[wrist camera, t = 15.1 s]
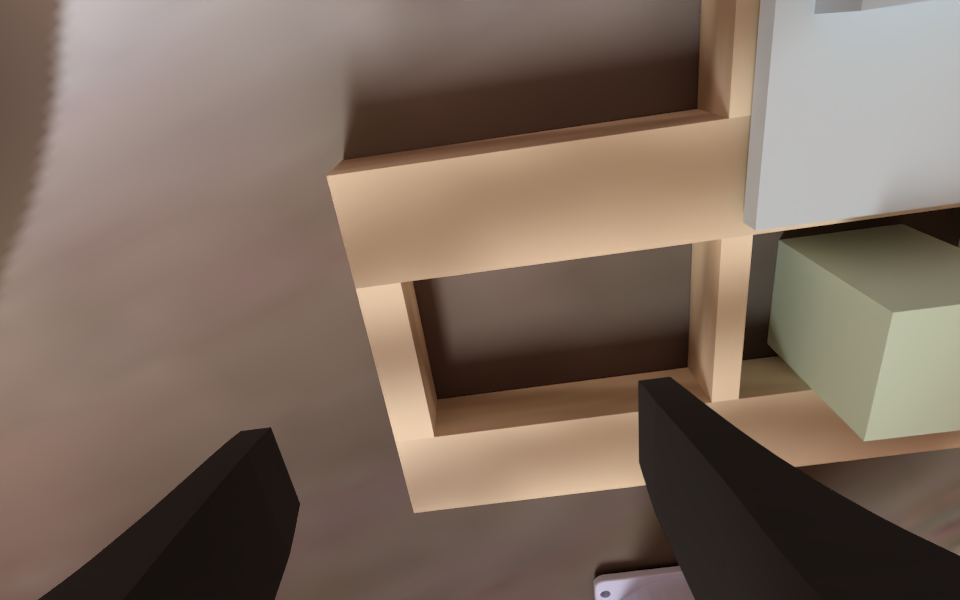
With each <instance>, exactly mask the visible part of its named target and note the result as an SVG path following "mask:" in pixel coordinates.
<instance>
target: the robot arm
mask: <svg viewBox="0 0 960 600" xmlns="http://www.w3.org/2000/svg"><path fill="white" fill-rule="evenodd" d="M638 422H639V464H640V468H641V471H642V474H643V477H644V480H645V484H646V487H647V490H648V493H649V496H650V499H651V502H652V505H653V508H654V511H655V513H656V516H657V518H658V520H659V522H660V525H661V527H662V529H663V531H664V533H665V536H666V538H667V540H668V542H669V544H670V547H671V549H672V551H673V553H674V555H675V557H676V560H677V562H678V564H679V566H674V567H665V568H656V569H648V570H639V571H630V572H621V573H613V574H604V575H599V576H598V577H596V578H595V580H594V596H595V600H960V556H959V555H957V554H955V553H952V552H950V551H948V550H946V549H944V548H942V547H940V546H938V545H936V544H934V543H932V542H930V541H927V540H925V539H923V538H921V537H919V536H917V535H915V534H913V533H911V532H909V531H907V530H905V529H903V528H901V527H899V526H897V525H895V524H893V523H891V522H889V521H887V520H885V519H883V518H881V517H880V516H878V515H876V514H874V513H872V512H870V511H869V510H867V509H865V508H863V507H861V506H860V505H858V504H856V503H854V502H852V501H851V500H849V499H847V498H845V497H843V496H842V495H840V494H838V493H836V492H834V491H833V490H831V489H829V488H828V487H826V486H824V485H823V484H821V483H819V482H818V481H816V480H814V479H813V478H811V477H809V476H808V475H806V474H805V473H803V472H802V471H800V470H799V469H797V468H795V467H794V466H792V465H791V464H789V463H788V462H786V461H785V460H783V459H781V458H780V457H778V456H777V455H775V454H774V453H772V452H771V451H769V450H768V449H766V448H765V447H764V446H762V445H761V444H759V443H758V442H756V441H755V440H753V439H752V438H751V437H749V436H748V435H746V434H745V433H744V432H742V431H741V430H740V429H738V428H737V427H735V426H734V425H733V424H731V423H730V422H729V421H727V420H726V419H725V418H723V417H722V416H721V415H719V414H718V413H717V412H715V411H714V410H713V409H711V408H710V407H709V406H707V405H706V404H705V403H704V402H702V401H701V400H700V399H698V398H697V397H696V396H695V395H693V394H692V393H691V392H689V391H688V390H687V389H686V388H684V387H683V386H682V385H680V384H679V383H678V382H677V381H675V380H674V379H673V378H671V377H663V378H655V379H647V380H640V381H638ZM299 506H300V503H299V500H298V497H297V495H296V492H295V489H294V487H293V484H292V482H291V479H290V476H289V474H288V471H287V468H286V466H285V463H284V461H283V458H282V455H281V453H280V450H279V448H278V445H277V442H276V440H275V437H274V434H273V432H272V429H271V427H270V428H262V429H254V430H246V431H240V432H239V433H238V434H237V435H235V436H234V437H233V438H231V439H230V440H229V441H228V442H227V443H225V444H224V445H223V446H222V447H221V448H220V449H218V450H217V451H216V452H215V453H214V454H213V455H212V456H211V457H209V458H208V459H207V460H206V461H205V462H204V463H203V464H202V465H200V466H199V467H198V468H197V469H196V470H195V471H194V472H193V473H192V474H190V475H189V476H188V477H187V478H186V479H185V480H184V481H183V482H182V483H180V484H179V485H178V486H177V487H176V488H175V489H174V490H173V491H171V492H170V493H169V494H168V495H167V496H166V497H165V498H164V499H162V500H161V501H160V502H159V503H158V504H157V505H156V506H155V507H153V508H152V509H151V510H150V511H149V512H148V513H147V514H145V515H144V516H143V517H142V518H141V519H139V520H138V521H137V522H136V523H135V524H133V525H132V526H131V527H130V528H129V529H127V530H126V531H125V532H124V533H123V534H121V535H120V536H119V537H118V538H117V539H115V540H114V541H113V542H112V543H111V544H109V545H108V546H107V547H106V548H105V549H103V550H102V551H101V552H100V553H99V554H97V555H96V556H95V557H94V558H92V559H91V560H90V561H89V562H87V563H86V564H85V565H84V566H82V567H81V568H80V569H79V570H77V571H76V572H75V573H73V574H72V575H71V576H69V577H68V578H67V579H65V580H64V581H63V582H62V583H60V584H59V585H57V586H56V587H55V588H53V589H52V590H51V591H49V592H48V593H47V594H45V595H44V596H42V597H41V598H40V599H38V600H275V597H276V594H277V591H278V588H279V585H280V582H281V579H282V576H283V573H284V570H285V567H286V564H287V561H288V558H289V555H290V551H291V546H292V542H293V537H294V533H295V528H296V522H297V517H298V512H299Z"/></svg>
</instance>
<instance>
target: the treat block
mask: <svg viewBox="0 0 960 600" xmlns="http://www.w3.org/2000/svg"><path fill="white" fill-rule="evenodd" d="M767 344H768V345H769V346H770V347H771V348H772V349H773V350H774V351H775V352H776V353H777V354H778V355H779V356H780V357H781V358H782V359H783V360H784V361H785V362H786V363H787V364H788V365H789V366H790V367H791V368H792V369H793V370H794V371H795V372H796V373H797V374H798V375H799V376H800V377H801V378H802V379H803V380H804V381H805V382H806V383H807V384H808V385H809V386H810V388H811V389H812V390H813V391H814V392H815V393H816V394H817V395H818V396H819V397H820V398H821V399H822V400H823V401H824V402H825V403H826V404H827V405H828V406H829V407H830V408H831V409H832V410H833V411H834V412H835V413H836V414H837V415H838V416H839V417H840V418H841V419H842V420H843V421H844V422H845V423H846V424H847V425H848V426H849V427H850V428H851V429H852V430H853V431H854V432H855V433H856V434H857V435H858V436H859V437H860V438H861V439H862V440H863V441H872V440H881V439H889V438H898V437H907V436H915V435H924V434H932V433H941V432H950V431H958V430H960V248H958V247H956V246H954V245H951V244H949V243H947V242H944V241H942V240H939V239H937V238H935V237H932V236H930V235H928V234H925V233H923V232H920V231H918V230H916V229H913V228H911V227H909V226H906V225H904V224H897V225H889V226H881V227H874V228H866V229H858V230H851V231H843V232H836V233H828V234H820V235H813V236H805V237H797V238H790V239H782V240H779V244H778V253H777V262H776V270H775V279H774V288H773V296H772V305H771V314H770V322H769V331H768V340H767Z"/></svg>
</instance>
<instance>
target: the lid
mask: <svg viewBox="0 0 960 600" xmlns="http://www.w3.org/2000/svg"><path fill="white" fill-rule="evenodd" d="M956 203H960V0H760V13H759V25H758V38H757V51H756V64H755V76H754V89H753V102H752V114H751V127H750V140H749V153H748V165H747V178H746V191H745V203H744V216H743V223H744V224H746V225H747V226H749V227H750V228H752V229H753V230H755V231H757V230H765V229H772V228H780V227H787V226H794V225H802V224H809V223H816V222H824V221H831V220H838V219H846V218H853V217H861V216H868V215H875V214H883V213H890V212H897V211H905V210H912V209H919V208H927V207H934V206H942V205H949V204H956Z"/></svg>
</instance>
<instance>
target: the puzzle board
mask: <svg viewBox="0 0 960 600" xmlns="http://www.w3.org/2000/svg"><path fill="white" fill-rule="evenodd" d="M759 13H760V0H701V24H700V51H699V78H698V105H697V109H694V110H687V111H680V112H673V113H666V114H659V115H652V116H645V117H638V118H631V119H624V120H618V121H611V122H604V123H597V124H590V125H583V126H576V127H569V128H562V129H555V130H548V131H541V132H534V133H527V134H520V135H514V136H507V137H500V138H493V139H486V140H479V141H472V142H465V143H458V144H451V145H444V146H437V147H430V148H423V149H416V150H410V151H403V152H396V153H389V154H382V155H375V156H368V157H361V158H354V159H347V160H342V161H341V162H340V163H339V164H338V165H337V166H336V167H335V168H334V169H333V170H332V171H331V172H330V173H329V174H328V175H327V180H328V184H329V187H330V191H331V195H332V199H333V203H334V207H335V210H336V214H337V218H338V222H339V226H340V230H341V234H342V237H343V241H344V245H345V249H346V253H347V257H348V261H349V264H350V268H351V272H352V276H353V280H354V284H355V288H356V291H357V295H358V299H359V303H360V307H361V311H362V315H363V318H364V322H365V326H366V330H367V334H368V338H369V342H370V345H371V349H372V353H373V357H374V361H375V365H376V368H377V372H378V376H379V380H380V384H381V388H382V392H383V395H384V399H385V403H386V407H387V411H388V415H389V419H390V422H391V426H392V430H393V434H394V438H395V442H396V446H397V449H398V453H399V457H400V461H401V465H402V469H403V473H404V476H405V480H406V484H407V488H408V492H409V496H410V500H411V503H412V507H413V511H414V513H417V512H426V511H434V510H442V509H451V508H459V507H467V506H476V505H484V504H492V503H500V502H509V501H517V500H525V499H534V498H542V497H550V496H559V495H567V494H575V493H584V492H592V491H600V490H609V489H617V488H625V487H633V486H642V485H646V484H645V480H644V477H643V474H642V471H641V468H640V464H639V422H638V381H640V380H647V379H655V378H663V377H671V378H673V379H674V380H675V381H677V382H678V383H679V384H680V385H682V386H683V387H684V388H686V389H687V390H688V391H689V392H691V393H692V394H693V395H695V396H696V397H697V398H698V399H700V400H701V401H702V402H704V403H705V404H706V405H707V406H709V407H710V408H711V409H713V410H714V411H715V412H717V413H718V414H719V415H721V416H722V417H723V418H725V419H726V420H727V421H729V422H730V423H731V424H733V425H734V426H735V427H737V428H738V429H740V430H741V431H742V432H744V433H745V434H746V435H748V436H749V437H751V438H752V439H753V440H755V441H756V442H758V443H759V444H761V445H762V446H764V447H765V448H766V449H768V450H769V451H771V452H772V453H774V454H775V455H777V456H778V457H780V458H781V459H783V460H785V461H786V462H788V463H789V464H791V465H792V466H794V467H800V466H808V465H816V464H825V463H833V462H841V461H850V460H858V459H866V458H875V457H883V456H891V455H900V454H908V453H916V452H925V451H933V450H941V449H949V448H958V447H960V430H958V431H950V432H941V433H932V434H924V435H915V436H907V437H898V438H889V439H881V440H872V441H863V440H862V439H861V438H860V437H859V436H858V435H857V434H856V433H855V432H854V431H853V430H852V429H851V428H850V427H849V426H848V425H847V424H846V423H845V422H844V421H843V420H842V419H841V418H840V417H839V416H838V415H837V414H836V413H835V412H834V411H833V410H832V409H831V408H830V407H829V406H828V405H827V404H826V403H825V402H824V401H823V400H822V399H821V398H820V397H819V396H818V395H817V394H816V393H815V392H814V391H813V390H812V389H811V388H810V386H809V385H808V384H807V383H806V382H805V381H804V380H803V379H802V378H801V377H800V376H799V375H798V374H797V373H796V372H795V371H794V370H793V369H792V368H791V367H790V366H789V365H788V364H787V363H786V362H785V361H784V360H783V359H782V358H781V357H780V356H774V357H766V358H758V359H750V360H743V361H742V354H743V343H744V331H745V320H746V309H747V297H748V286H749V274H750V263H751V252H752V240H753V235H755V234H763V233H770V232H778V231H785V230H792V229H800V228H807V227H814V226H822V225H829V224H837V223H844V222H851V221H859V220H866V219H873V218H881V217H888V216H896V215H903V214H910V213H918V212H925V211H932V210H940V209H947V208H955V207H960V203H956V204H949V205H942V206H934V207H927V208H919V209H912V210H905V211H897V212H890V213H883V214H875V215H868V216H861V217H853V218H846V219H838V220H831V221H824V222H816V223H809V224H802V225H794V226H787V227H780V228H772V229H765V230H757V231H755V230H753V229H752V228H750V227H749V226H747V225H746V224H744V223H743V216H744V203H745V191H746V178H747V165H748V153H749V140H750V127H751V114H752V102H753V89H754V76H755V64H756V51H757V38H758V25H759ZM689 243H692V267H691V294H690V321H689V348H688V368H680V369H672V370H664V371H656V372H649V373H641V374H633V375H625V376H617V377H609V378H602V379H594V380H586V381H578V382H570V383H562V384H554V385H547V386H539V387H531V388H523V389H515V390H507V391H500V392H492V393H484V394H476V395H468V396H460V397H453V398H445V399H437V396H436V391H435V386H434V382H433V377H432V372H431V367H430V362H429V357H428V353H427V348H426V343H425V338H424V333H423V329H422V324H421V319H420V314H419V309H418V305H417V300H416V295H415V290H414V285H413V281H416V280H424V279H431V278H438V277H446V276H453V275H460V274H468V273H475V272H483V271H490V270H497V269H505V268H512V267H519V266H527V265H534V264H542V263H549V262H556V261H564V260H571V259H578V258H586V257H593V256H601V255H608V254H615V253H623V252H630V251H637V250H645V249H652V248H660V247H667V246H674V245H682V244H689ZM958 248H960V240H959V244H958Z"/></svg>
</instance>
